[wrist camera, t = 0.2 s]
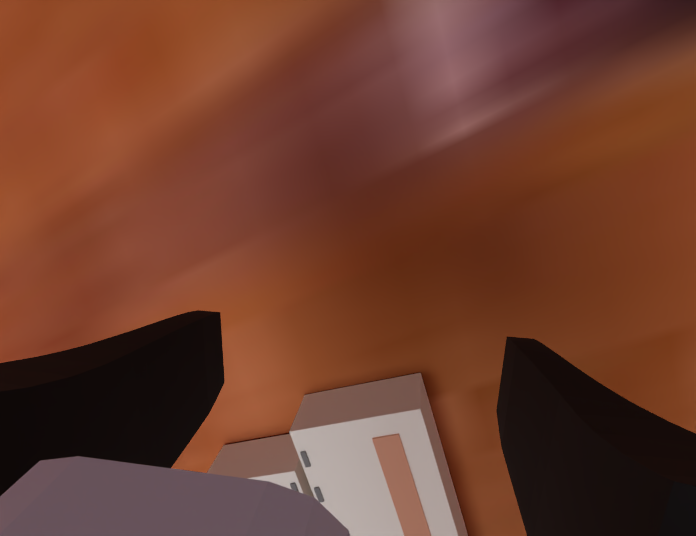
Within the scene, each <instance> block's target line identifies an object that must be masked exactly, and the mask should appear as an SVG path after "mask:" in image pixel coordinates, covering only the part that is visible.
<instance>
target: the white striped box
mask: <svg viewBox="0 0 696 536" xmlns="http://www.w3.org/2000/svg"><path fill="white" fill-rule="evenodd" d="M289 433H290V435H291V438H292V440H293V443H294V446H295V448H296V451H297V453H298V456H299V459H300V461H301V464H302V466H303V469H304V472H305V474H306V477H307V479H308V482H309V485H310V487H311V490H312V492H313V495H314V498H316V499H317V500H318V501H319V502H320V503H321V504H322V505H323V506H324V507H325V508H326V509H327V510H328V511H329V512H330V513H331V514H332V515H333V516H334V517H335V518H336V519H337V520H338V521H339V522H341V523H342V524H343V525H344V526H345V527H346V528H347V529H348V530H349V533H350V536H468V534H467V530H466V527H465V523H464V520H463V516H462V513H461V509H460V506H459V503H458V499H457V496H456V492H455V489H454V485H453V482H452V479H451V475H450V472H449V468H448V465H447V461H446V458H445V455H444V451H443V448H442V444H441V441H440V437H439V434H438V430H437V427H436V424H435V420H434V417H433V413H432V410H431V406H430V403H429V400H428V396H427V393H426V389H425V386H424V382H423V379H422V376H421V373H416V374H411V375H405V376H400V377H395V378H390V379H385V380H379V381H374V382H369V383H364V384H359V385H353V386H348V387H343V388H338V389H333V390H327V391H322V392H317V393H312V394H307V395H304V398H303V400H302V403H301V405H300V407H299V410H298V412H297V414H296V417H295V419H294V422H293V424H292V426H291V429H290V431H289Z"/></svg>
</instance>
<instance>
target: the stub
mask: <svg viewBox="0 0 696 536" xmlns="http://www.w3.org/2000/svg"><path fill="white" fill-rule="evenodd" d="M207 473H209V474H217V475H224V476H232V477H239V478H247V479H255V480H262V481H269V482H272V483H275V484H278V485H281V486H284V487H286V488H289V489H292V490H295V491H298V492H300V493H303V494H306V495H309V496H312V497H314V495H313V492H312V490H311V487H310V485H309V482H308V479H307V477H306V474H305V472H304V469H303V466H302V464H301V461H300V459H299V456H298V453H297V451H296V448H295V446H294V443H293V440H292V438H291V435H290V434H286V435H280V436H274V437H268V438H263V439H257V440H251V441H245V442H240V443H234V444H228V445H223V447H222V449H221V450H220V452H219V454H218V455H217V457H216V459H215V460H214V462H213V464H212V465H211V467H210V469H209V470H208V472H207Z"/></svg>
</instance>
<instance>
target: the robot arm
mask: <svg viewBox="0 0 696 536" xmlns="http://www.w3.org/2000/svg"><path fill="white" fill-rule="evenodd" d="M223 384H224V366H223V351H222V335H221V319H220V312H209V311H192V312H188V313H184V314H180V315H177V316H174V317H171V318H168V319H165V320H162V321H159V322H156V323H153V324H150V325H147V326H144V327H141V328H138V329H136V330H133V331H130V332H127V333H123V334H120V335H117V336H114V337H111V338H107V339H104V340H101V341H98V342H95V343H92V344H88V345H84V346H81V347H77V348H73V349H69V350H65V351H61V352H57V353H52V354H48V355H43V356H39V357H34V358H28V359H22V360H16V361H10V362H4V363H0V536H350V533H349V530H348V529H347V528H346V527H345V526H344V525H343V524H342V523H341V522H339V521H338V520H337V519H336V518H335V517H334V516H333V515H332V514H331V513H330V512H329V511H328V510H327V509H326V508H325V507H324V506H323V505H322V504H321V503H320V502H319V501H318V500H317V499H316V498H314V497H312V496H309V495H306V494H303V493H300V492H298V491H295V490H292V489H289V488H286V487H284V486H281V485H278V484H275V483H272V482H269V481H262V480H255V479H247V478H239V477H232V476H224V475H217V474H209V473H202V472H194V471H186V470H179V469H171V467H172V466H173V464H174V463H175V461H176V460H177V459H178V457H179V456H180V454H181V453H182V451H183V450H184V449H185V447H186V446H187V444H188V443H189V442H190V440H191V439H192V437H193V436H194V435H195V433H196V432H197V430H198V429H199V427H200V426H201V424H202V423H203V422H204V420H205V419H206V417H207V416H208V414H209V412H210V411H211V409H212V407H213V405H214V403H215V401H216V399H217V397H218V395H219V393H220V390H221V388H222V386H223ZM497 418H498V425H499V433H500V439H501V446H502V450H503V454H504V457H505V461H506V464H507V468H508V471H509V475H510V478H511V482H512V485H513V489H514V492H515V495H516V499H517V502H518V506H519V509H520V513H521V516H522V519H523V523H524V526H525V530H526V533H527V536H696V434H695V433H693V432H691V431H688V430H686V429H684V428H682V427H679V426H677V425H675V424H673V423H671V422H669V421H667V420H665V419H663V418H661V417H659V416H657V415H655V414H653V413H651V412H649V411H647V410H645V409H643V408H641V407H639V406H637V405H635V404H634V403H632V402H630V401H628V400H627V399H625V398H623V397H621V396H620V395H618V394H617V393H615V392H613V391H612V390H610V389H608V388H607V387H605V386H603V385H602V384H600V383H599V382H597V381H596V380H594V379H593V378H591V377H590V376H588V375H587V374H585V373H584V372H582V371H581V370H579V369H578V368H576V367H575V366H573V365H572V364H571V363H569V362H568V361H566V360H565V359H564V358H562V357H561V356H559V355H558V354H556V353H555V352H554V351H552V350H551V349H549V348H548V347H546V346H545V345H543V344H542V343H540V342H538V341H537V340H535V339H528V338H516V337H507V340H506V347H505V354H504V361H503V368H502V375H501V383H500V390H499V397H498V404H497Z"/></svg>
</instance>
